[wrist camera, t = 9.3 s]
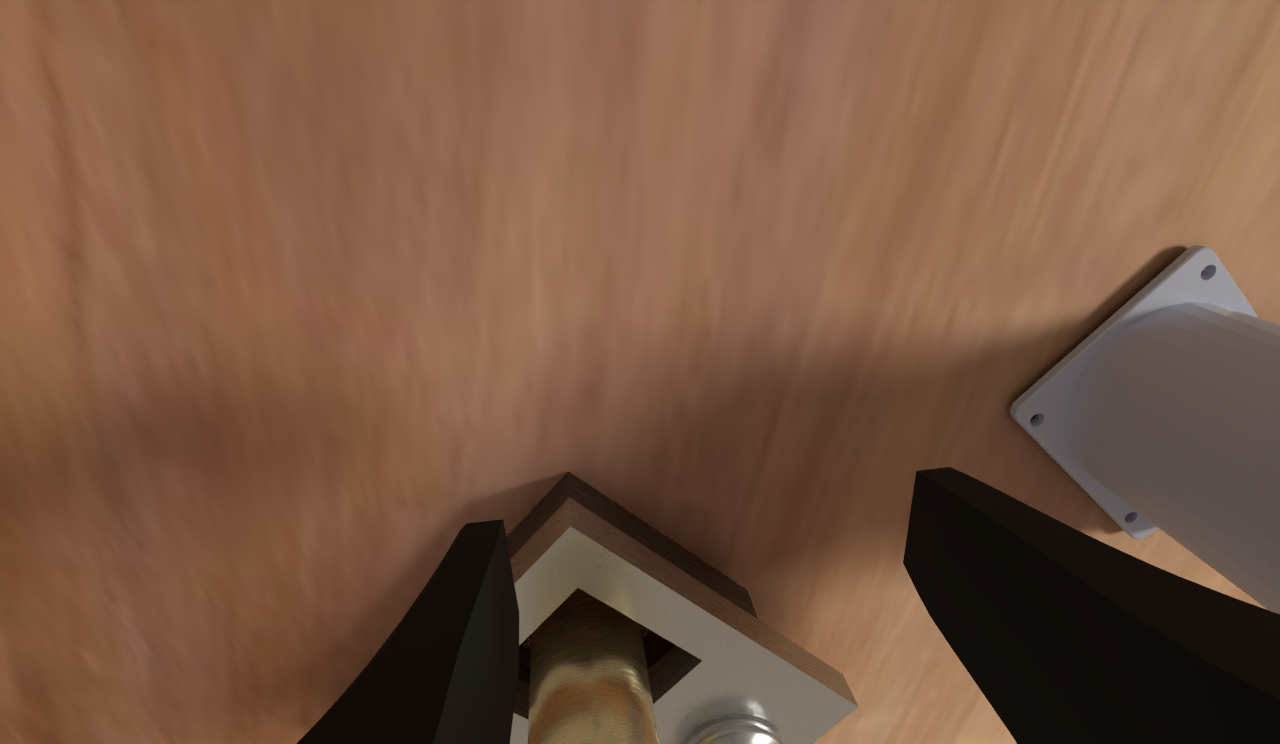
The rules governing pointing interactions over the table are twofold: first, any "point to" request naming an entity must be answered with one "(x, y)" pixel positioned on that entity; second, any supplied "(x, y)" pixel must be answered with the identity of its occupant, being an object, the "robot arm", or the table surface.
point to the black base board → (635, 529)
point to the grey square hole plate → (679, 640)
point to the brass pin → (589, 677)
